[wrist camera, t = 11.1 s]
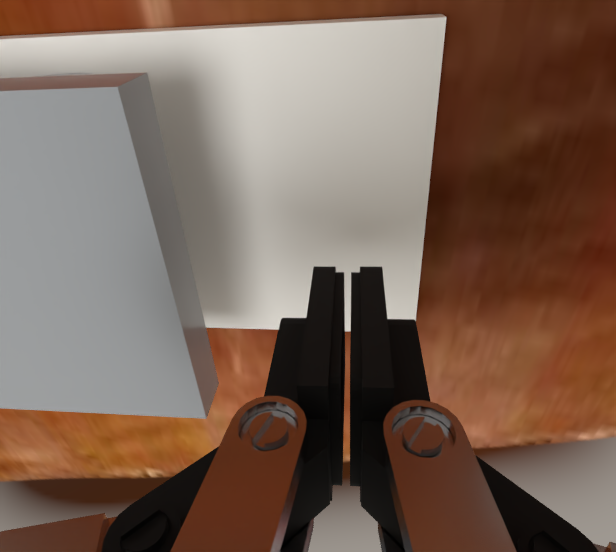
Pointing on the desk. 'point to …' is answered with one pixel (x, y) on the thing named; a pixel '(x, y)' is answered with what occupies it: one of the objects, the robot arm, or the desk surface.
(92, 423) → the desk surface
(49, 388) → the slab
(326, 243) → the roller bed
